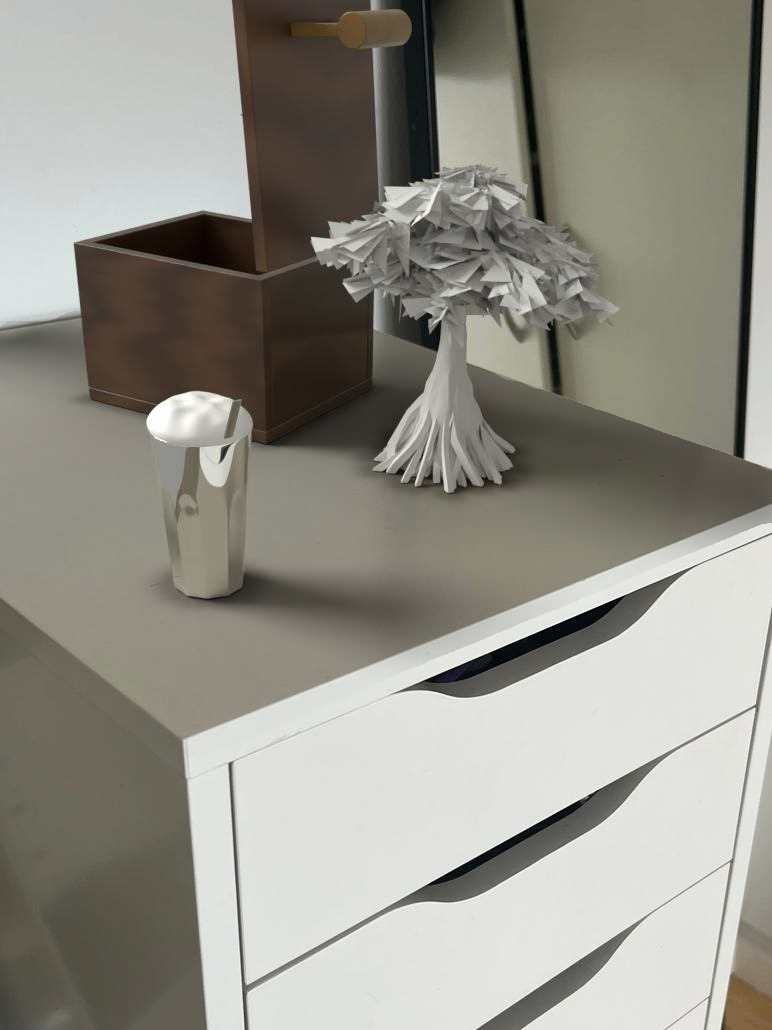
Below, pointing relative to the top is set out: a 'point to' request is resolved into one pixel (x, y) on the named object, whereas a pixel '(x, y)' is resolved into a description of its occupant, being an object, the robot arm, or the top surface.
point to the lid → (309, 116)
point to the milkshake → (203, 488)
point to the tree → (460, 300)
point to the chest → (219, 323)
